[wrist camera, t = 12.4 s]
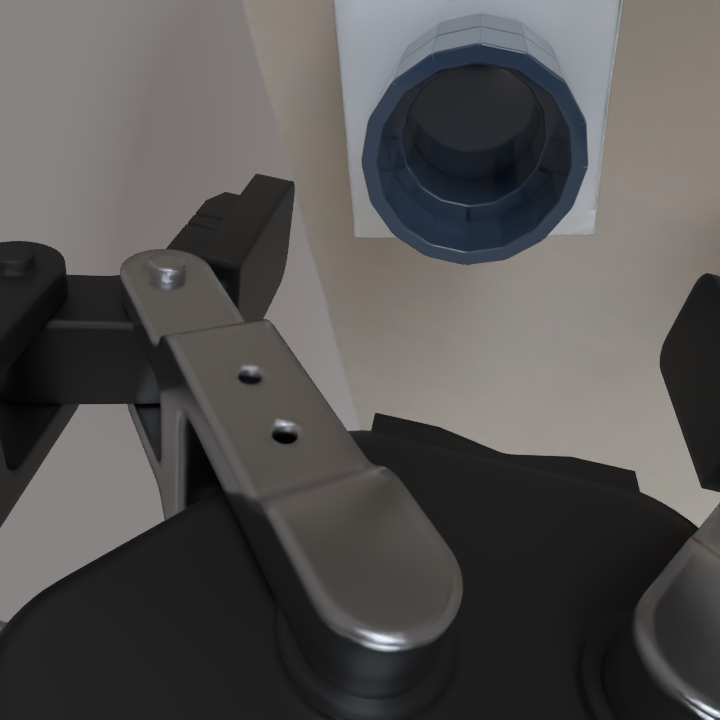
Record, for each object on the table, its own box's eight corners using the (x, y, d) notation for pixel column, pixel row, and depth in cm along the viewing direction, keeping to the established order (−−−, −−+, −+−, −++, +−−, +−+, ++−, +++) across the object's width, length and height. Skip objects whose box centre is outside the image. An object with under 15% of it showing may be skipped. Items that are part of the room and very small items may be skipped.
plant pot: (402, -7, 21) (384, 22, 17) (596, 34, 21) (623, 73, 17) (369, 180, 25) (347, 240, 21) (534, 215, 25) (544, 283, 21)
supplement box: (384, -75, 34) (321, -40, 21) (574, -92, 33) (639, -66, 19) (394, 118, 40) (349, 245, 26) (557, 112, 38) (598, 243, 25)
